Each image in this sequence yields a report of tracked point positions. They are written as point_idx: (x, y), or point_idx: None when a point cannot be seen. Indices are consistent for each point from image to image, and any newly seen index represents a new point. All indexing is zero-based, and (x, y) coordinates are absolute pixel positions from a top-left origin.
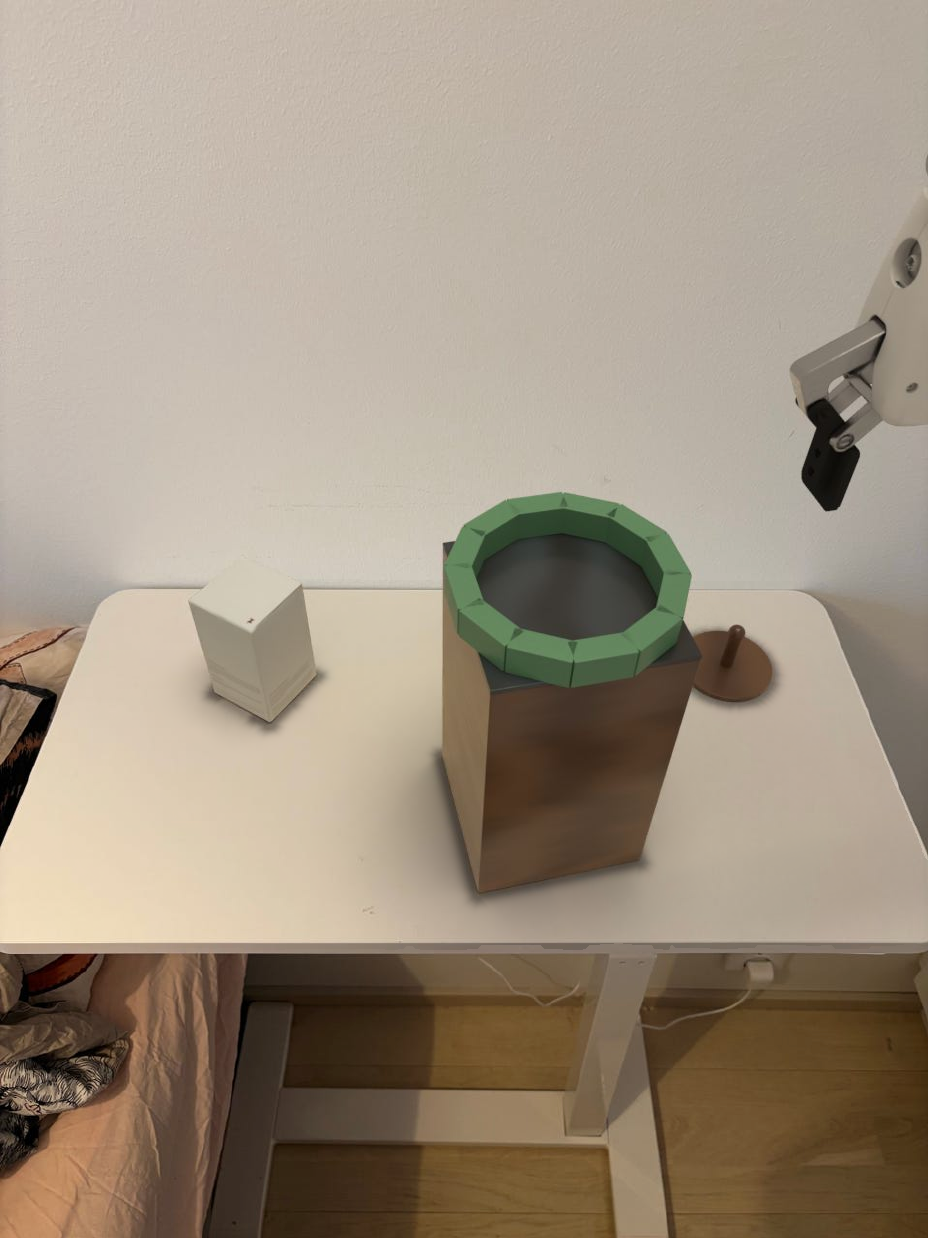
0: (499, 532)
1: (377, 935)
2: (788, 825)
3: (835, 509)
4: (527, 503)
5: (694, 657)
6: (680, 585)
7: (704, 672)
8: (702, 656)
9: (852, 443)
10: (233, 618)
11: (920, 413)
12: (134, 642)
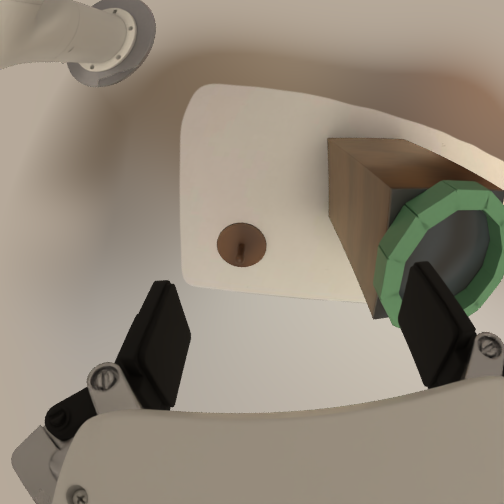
0: (463, 304)
1: (442, 133)
2: (241, 146)
3: (419, 262)
4: None
5: (397, 188)
6: (402, 248)
7: (255, 242)
8: (253, 252)
9: (476, 346)
10: None
11: (482, 407)
12: None
